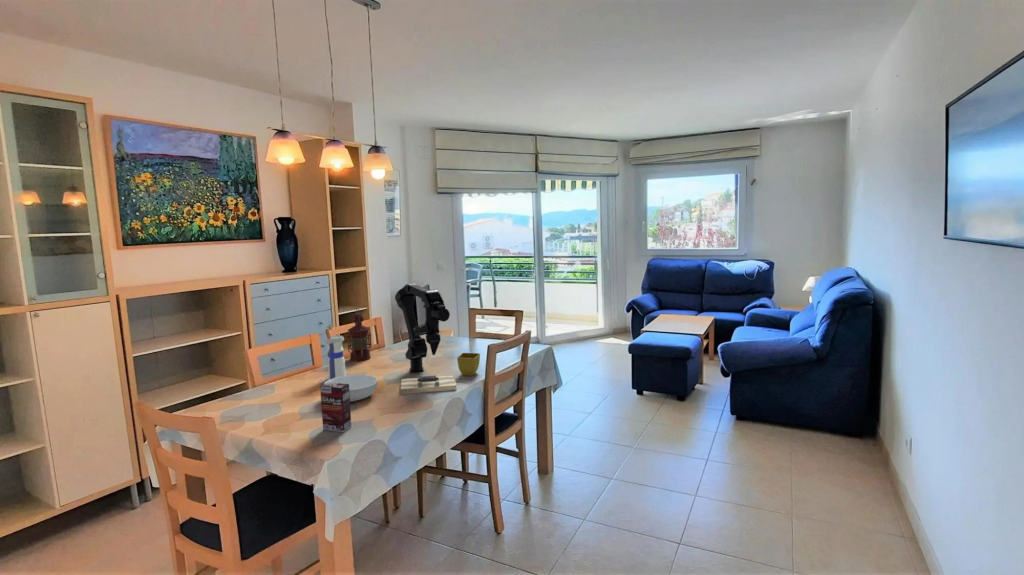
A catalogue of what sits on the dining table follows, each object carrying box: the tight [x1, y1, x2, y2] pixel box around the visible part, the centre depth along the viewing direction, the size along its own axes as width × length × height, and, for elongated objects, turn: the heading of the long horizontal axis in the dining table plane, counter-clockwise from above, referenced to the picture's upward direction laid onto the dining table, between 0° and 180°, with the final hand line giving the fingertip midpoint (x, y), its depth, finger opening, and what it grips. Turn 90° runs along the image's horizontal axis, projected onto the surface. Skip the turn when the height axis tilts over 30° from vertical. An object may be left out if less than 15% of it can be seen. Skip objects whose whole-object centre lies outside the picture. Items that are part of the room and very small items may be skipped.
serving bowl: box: [323, 374, 378, 403], centre depth 209 cm, size 21×21×7 cm
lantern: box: [346, 301, 373, 362], centre depth 268 cm, size 12×12×30 cm
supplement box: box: [319, 382, 352, 433], centre depth 177 cm, size 9×5×16 cm, turn 75°
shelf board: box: [400, 375, 457, 395], centre depth 222 cm, size 14×23×4 cm, turn 100°
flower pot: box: [456, 352, 481, 376], centre depth 238 cm, size 9×9×9 cm
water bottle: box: [325, 323, 347, 380], centre depth 234 cm, size 8×8×25 cm
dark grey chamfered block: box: [419, 375, 437, 382], centre depth 225 cm, size 3×7×4 cm, turn 103°
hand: (433, 352), depth 232 cm, fingers open, 9 cm apart
